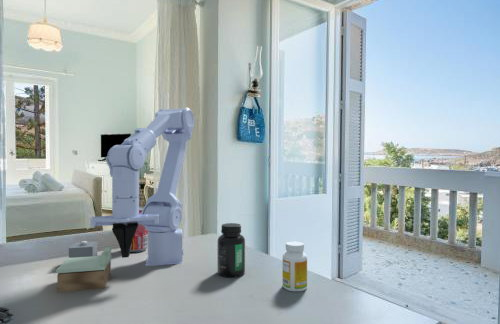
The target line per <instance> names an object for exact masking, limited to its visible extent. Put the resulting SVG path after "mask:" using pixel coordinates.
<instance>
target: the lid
mask: <svg viewBox="0 0 500 324" xmlns="http://www.w3.org/2000/svg"><path fill="white" fill-rule="evenodd" d="M112 256H113V255H112V245H111V246H106V247H105V248H104V250H103V251H102V252H101V254H100V255H97V256H91V257H76V258H69V257H68V258H66V260H64V261H63V263H62V264H60V266H58V267H57V269H56V270H55V274H58V273H68V272H81V271H95V270H105V269H106V267H107V265H108V264H109V262H110V260H112V258H113V257H112Z"/></svg>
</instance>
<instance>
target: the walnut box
mask: <svg viewBox="0 0 500 324" xmlns="http://www.w3.org/2000/svg"><path fill="white" fill-rule="evenodd" d="M111 260H112V259H111ZM111 260H110V262H109V264H108V265H107V267H106V269H105V270H95V271H81V272H68V273H56V274H57V276H56V277H57V280H56V281H57V284H56V285H57V287H56V288H57V291H56V292H57V293H64V292H65V293H66V292H67V293H68V292H78V291H88V290H89V291H90V290H101V289H105V287H106V285H107V283H108V281H109V279H110V277H111V275H112V274H111V272H112V271H111V270H112V269H111V268H112V267H111V265H112V264H111V263H112V261H111Z"/></svg>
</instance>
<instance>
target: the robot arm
mask: <svg viewBox="0 0 500 324" xmlns="http://www.w3.org/2000/svg"><path fill="white" fill-rule="evenodd" d="M194 126H195V118H194V113H193V111H192V109H191V108H189V107H183V108H169V109H165V108H160V109H158V110H157V111H156V112H155V113H154V118H153V119H152V121H150V123H149V124H148V125H147V126H146V127H137V128H135V129H133V131H134V132H133V133H132V134H131V135H130V136H129V137H127V138H125V139H124V140H123V142H122V143H121V144H115V145H113V146H112V147H110V149H109V150H108V152H107V156H106V157H105V160H106V161H105V162H106V164H107V165H106V166H108V169H109V176H110V177H112V179H111V181H112V182H111V183H112V186H111V187H112V191H111V194H112V197H111V199H112V200H111V201H112V203H111V207H112V210H111V211H112V212H111V214H112V215H102V216H92V217H91V218H90V222H89V225H90V227H91V228H94V227H102V226H104V227H105V226H106V227H107V226H112V228H111V231H112V233H113V235H114V236H115V238H116V241H117V243H118V245H119V248H120V253H121V258H122V259H125V258H129V257H130V254H131V253H130V248H131V243H132V240H133V237H134V235H135V232H136V230H137V228H138V225H139V224H142V225H143V226H144V227H145V230H148V247H147V257H146V260H145V265H144V266H145V267H151V266H152V267H153V266H166V265H178V264H183V256H184V248H183V229H182V228H179V227H180V225H181V223H182V221H183V220H182V217H183V213H182V210H183V204H182V202H181V200H180V199H179V198H178V197H176V194H177V190H178V186H179V181H180V178H181V177H180V176H181V172H182V167H183V163H184V160H185V154H186V152H187V146H188V143H189V140H191V139H192V135H193V131H194V128H195V127H194ZM160 136H162V138H163V140H165V141H166V142H168V146H167V151H166V155H165V159H164V163H163V166H162V169H161V175H160V179H159V182H158V186H157V190H156V192H155V193H153V194H152V195H151V196H149V197H148V198H147V199H146V202H145V205H144V206H143V207H144V208H143V210H142V212H141V214H139V207H140V169H141V168H143V166H144V164H145V159H146V158H147V156H148V155H147V154H149V152H150V151H151V150H152V149H153V148H154V147H155V146H156V145H157V138H159V137H160ZM132 221H134V222H132ZM126 225H127V226H126Z"/></svg>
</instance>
